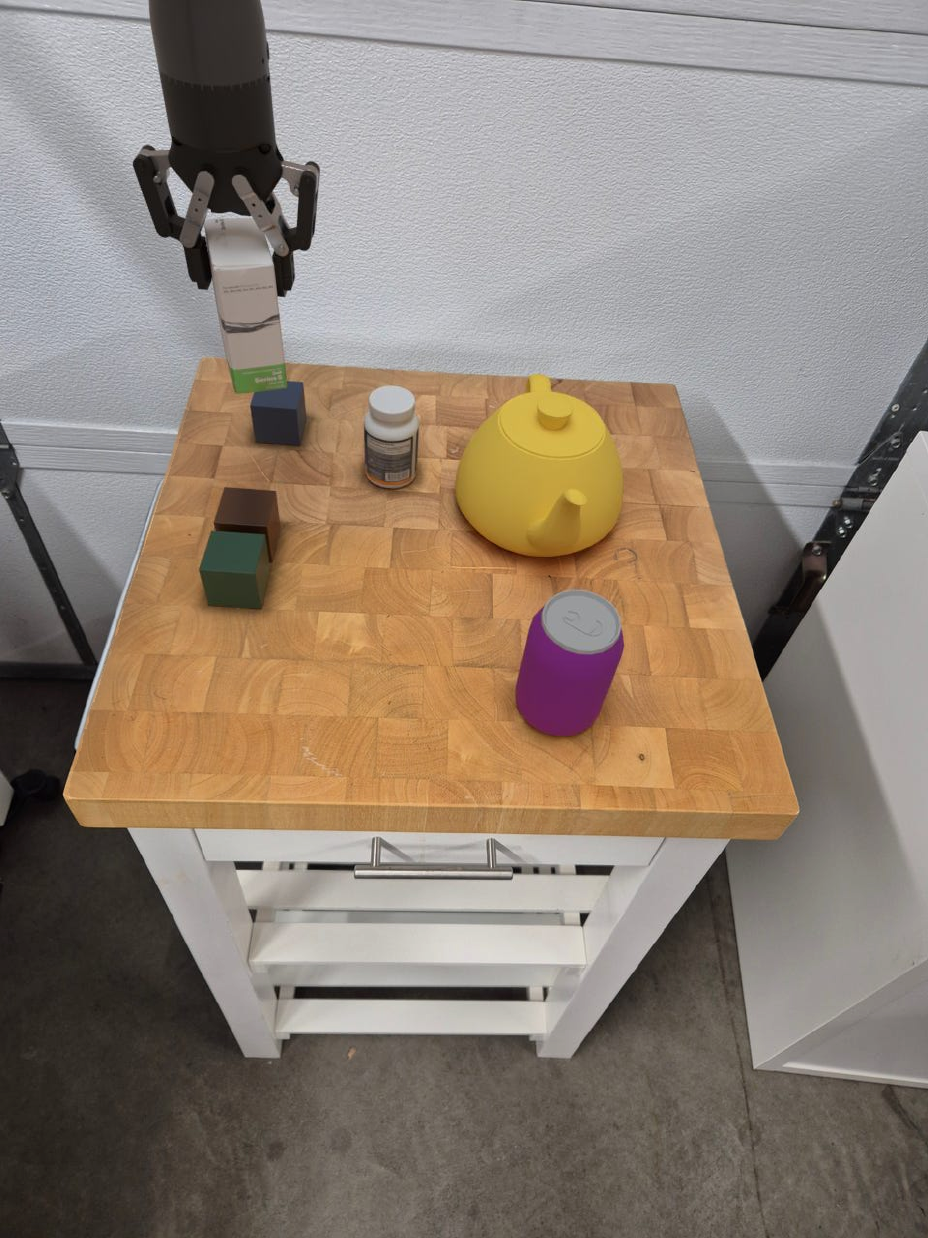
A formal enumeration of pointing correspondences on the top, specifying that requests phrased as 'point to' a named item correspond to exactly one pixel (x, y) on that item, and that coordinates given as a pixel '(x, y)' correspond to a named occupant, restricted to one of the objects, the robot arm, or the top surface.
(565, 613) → the beverage can
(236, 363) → the ink box
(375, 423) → the pill bottle
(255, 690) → the top surface
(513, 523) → the teapot
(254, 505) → the walnut block
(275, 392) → the slate block
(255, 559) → the green block
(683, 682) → the top surface
